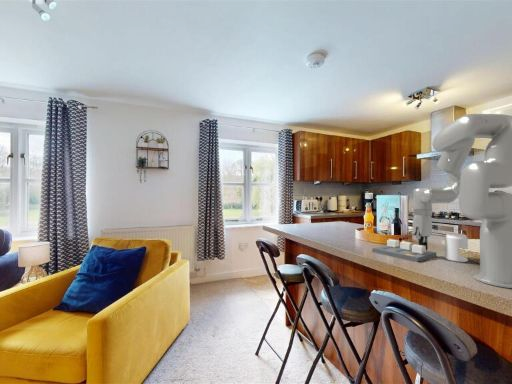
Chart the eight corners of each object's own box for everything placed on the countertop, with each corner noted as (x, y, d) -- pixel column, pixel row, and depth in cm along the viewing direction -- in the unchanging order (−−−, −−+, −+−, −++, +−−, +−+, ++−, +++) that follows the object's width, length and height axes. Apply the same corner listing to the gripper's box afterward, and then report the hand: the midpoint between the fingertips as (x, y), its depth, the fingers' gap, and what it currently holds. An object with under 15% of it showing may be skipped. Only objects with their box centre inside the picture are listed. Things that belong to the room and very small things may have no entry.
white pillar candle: (459, 263, 106) (459, 236, 106) (440, 258, 114) (440, 233, 114) (472, 262, 109) (472, 235, 109) (453, 257, 116) (453, 232, 116)
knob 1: (399, 246, 130) (399, 239, 130) (395, 247, 128) (395, 240, 128) (391, 245, 134) (391, 238, 134) (387, 245, 132) (387, 239, 132)
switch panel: (436, 256, 118) (436, 251, 118) (417, 262, 109) (417, 257, 109) (391, 247, 137) (391, 243, 137) (372, 252, 128) (372, 247, 128)
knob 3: (425, 252, 116) (425, 245, 116) (421, 253, 114) (421, 246, 114) (416, 250, 120) (415, 243, 120) (411, 251, 118) (411, 244, 118)
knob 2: (413, 249, 124) (413, 242, 124) (409, 250, 122) (409, 243, 122) (404, 247, 128) (404, 240, 128) (400, 248, 126) (400, 241, 126)
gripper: (422, 211, 126) (422, 246, 126) (406, 213, 119) (406, 250, 119) (438, 212, 120) (439, 249, 120) (423, 214, 112) (423, 253, 112)
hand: (423, 249), depth 119 cm, fingers closed
